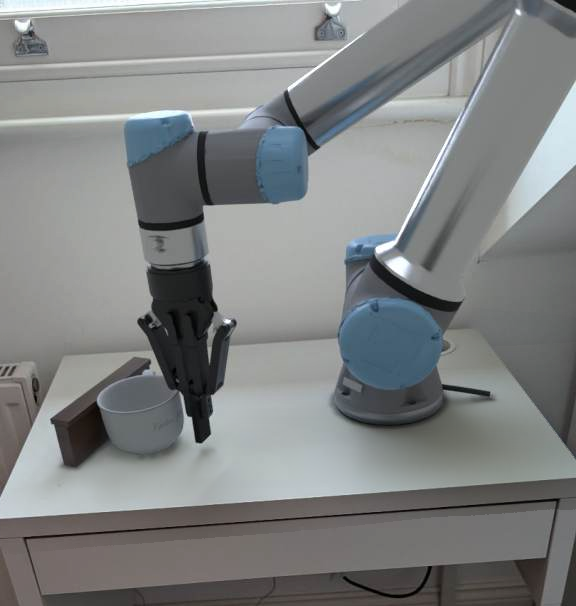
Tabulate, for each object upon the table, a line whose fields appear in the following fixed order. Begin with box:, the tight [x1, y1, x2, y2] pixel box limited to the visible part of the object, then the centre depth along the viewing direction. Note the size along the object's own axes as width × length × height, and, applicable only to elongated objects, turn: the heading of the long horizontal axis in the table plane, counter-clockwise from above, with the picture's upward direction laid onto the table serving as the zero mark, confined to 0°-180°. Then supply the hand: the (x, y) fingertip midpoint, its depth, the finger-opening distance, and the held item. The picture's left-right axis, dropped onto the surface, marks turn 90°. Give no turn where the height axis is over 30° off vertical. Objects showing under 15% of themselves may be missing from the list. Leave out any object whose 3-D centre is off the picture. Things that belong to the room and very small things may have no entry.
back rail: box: [49, 356, 152, 468], centre depth 111 cm, size 3×20×7 cm, turn 157°
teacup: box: [97, 369, 185, 456], centre depth 109 cm, size 14×11×8 cm
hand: (203, 438), depth 107 cm, fingers closed
